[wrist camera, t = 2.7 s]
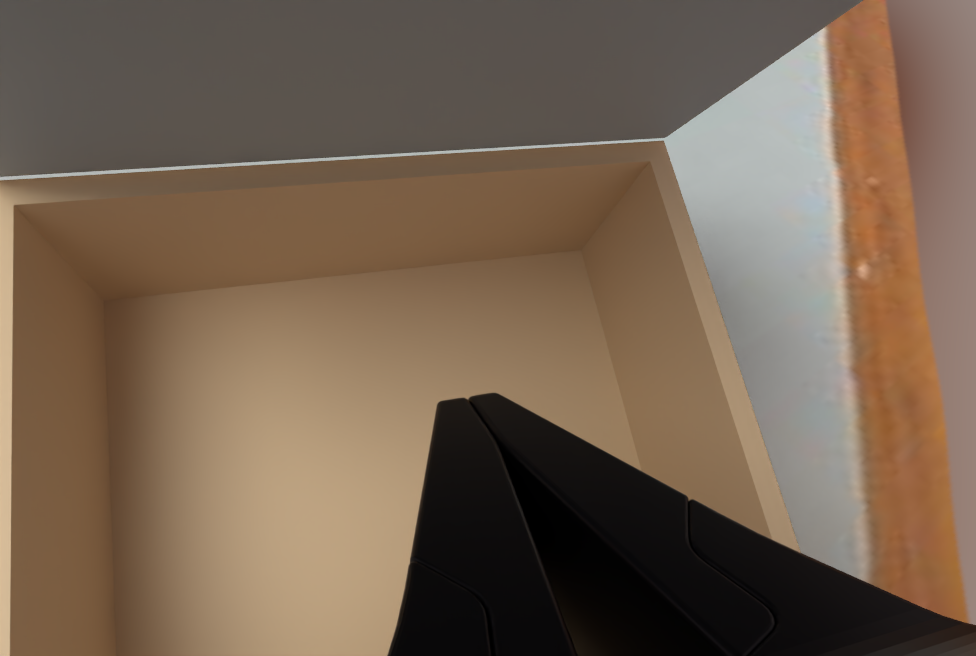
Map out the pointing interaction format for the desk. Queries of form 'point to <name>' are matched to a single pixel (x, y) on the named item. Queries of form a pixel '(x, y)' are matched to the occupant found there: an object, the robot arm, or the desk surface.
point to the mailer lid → (366, 75)
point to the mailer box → (328, 380)
